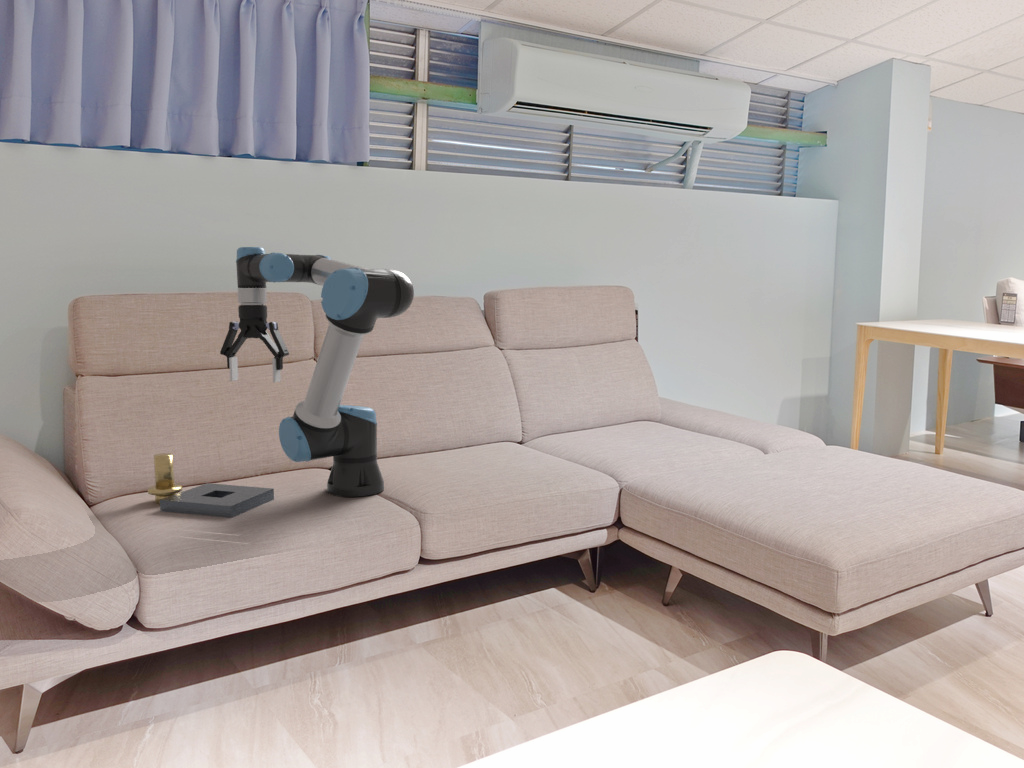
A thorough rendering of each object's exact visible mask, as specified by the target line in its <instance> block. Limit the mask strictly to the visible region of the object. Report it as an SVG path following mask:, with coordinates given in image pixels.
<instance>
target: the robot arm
mask: <svg viewBox="0 0 1024 768" xmlns="http://www.w3.org/2000/svg"><path fill="white" fill-rule="evenodd" d="M235 263H236V279H237V303H238V304H240V305H238V310H237V311H238V319H239V322H238V321H230V322H229V324H228V330H227V331H228V332H227V334H226V336H225V339H224V341H223V343H222V347H221V349H220V351H219V353H220V355H222V356H225V357H226V363H227V364H226V365H227V366H226V367H227V369H228V370H229V381H230V382H234V381H235V382H236V381H239V369H238V368H239V365H238V364H239V363H238V356H236V354H237V353H238V352H239V350H240V348H242V346H243V345H244V343H245V342H246V340H248V339H259V340H261V341H262V343H263V344H264V345H265V346H266V347H267V349H268V350H269V352H271V354H272V355H273V358H272V361H271V362H272V363H271V364H272V365H271V366H272V382H273V383H279V382H281V381H282V377H281V376H282V372H281V371H282V370H283V368H284V365H283V364H284V362H283V361H284V360H283V359H284V357H286V356H289V355H290V351H289V349H288V347H287V345H286V343H285V341H284V339H283V337H282V334H281V332H280V330H279V326H278V322H277V321H269V322H268V320H267V319H268V306H267V305H266V303H267V283H308V284H309V283H310V284H313V285H317V286H322V288H321V293H320V297H321V298H322V300H321V301H320V302H321V308H322V310H323V312H324V313H325V319H326V321H327V322H328V326H327V329H326V333H325V336H324V339H323V341H322V344H321V345H322V346H321V349H320V351H319V355H318V358H317V361H316V364H315V367H314V369H313V373H312V375H311V376H312V377H311V380H310V383H309V385H308V389H307V392H306V395H305V397H304V400H301V401H300V402H298V403H297V404H296V406H295V408H294V412H293V415H292V416H287V417H284V418H282V419H281V421H280V423H279V426H278V438H279V442H280V446H281V448H282V451H283V452H284V454H285V456H286V457H287V458H288V459H289V460H290V461H293V462H295V463H300V462H301V463H302V462H303V463H304V462H311V461H315V460H320V459H326V458H330V457H331V458H333V459H332V462H333V463H332V466H331V470H330V472H329V477H328V479H327V481H326V491H327V493H328V494H329V493H330V494H329V495H331V494H333V495H332V496H335V495H337V497H343V496H344V498H345V497H348V498H349V497H350V498H353V497H354V498H355V497H357V498H358V497H366V496H372V495H375V494H376V495H377V494H379V493H382V492H383V491H384V489H385V485H384V484H385V480H384V477H383V476H382V473H381V470H380V467H379V463H378V455H377V453H378V448H377V446H378V445H377V443H378V442H377V441H378V440H377V430H378V427H377V426H378V423H377V413H376V410H374V409H373V408H372V407H369V406H361V405H349V404H348V405H347V404H341V403H342V401H343V400H342V399H343V398H344V394H345V391H346V388H347V385H348V383H349V379H350V377H351V374H352V371H353V368H354V366H355V362H356V360H357V356H358V353H359V351H360V347H361V345H362V342H363V340H364V336H366V335H368V334H370V333H372V331H373V330H374V328H375V324H376V322H377V319H387V318H395V317H397V316H400V315H402V314H403V313H405V312H406V311H407V310H408V309H409V308H410V307H411V305H412V303H413V301H414V296H415V292H414V291H415V290H414V286H413V282H412V280H410V278H409V277H408V276H407V275H406V274H405V273H403V272H401V271H399V270H396V269H390V268H389V269H387V268H376V269H375V268H365V267H362V266H359V265H354V264H350V263H346V262H342V261H338V260H334V259H332V257H331V256H328V255H323V254H322V255H321V254H316V255H315V254H293V253H291V254H290V253H281V252H270V253H266V251H265V248H263V247H259V246H258V247H257V246H241V247H238V248H237V249H236V260H235ZM239 329H240V332H238V330H239ZM267 330H269V333H270V334H269V333H268V331H267ZM238 333H239V334H238ZM237 334H238V335H237Z"/></svg>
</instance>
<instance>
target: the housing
mask: <svg viewBox="0 0 1024 768" xmlns="http://www.w3.org/2000/svg"><path fill="white" fill-rule="evenodd" d="M274 489H275V488H273V487H272V488H271V487H260V486H259V487H258V486H247V485H246V486H245V485H235V484H222V483H209V482H207V483H204V484H202V485H201V484H200V485H198V486H194V487H192V488H190V489H187V490H182V491H181V492H178V493H176V494H175V495H172V496H169V497H166V498H164V499H161V500H160V504H159V509H160V510H159V511H160V512H162V513H163V512H164V513H165V512H166V513H174V514H185V515H186V514H187V515H197V516H206V517H208V516H209V517H219V518H228V519H232V518H234V517H237V516H239V515H241V514H243V513H246V512H248V511H251V510H253V509H255V508H258V507H259V506H260V507H261V506H262V505H264V504H266V503H269V502H272V501H274V500H275V491H274Z"/></svg>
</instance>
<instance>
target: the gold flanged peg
mask: <svg viewBox="0 0 1024 768" xmlns="http://www.w3.org/2000/svg"><path fill="white" fill-rule="evenodd" d="M153 464H154V481H155V482H154V483H155V485H151V486H150V487H148V488H147V494H148V495H151V496H155V497H154V499H155V503H156V504H159V505H160V500H161V499H164V498H166V497H169V496H172V495H175V494H178V493H181V492H183V485H181V484H180V483H175V474H174V473H175V472H174V471H175V469H174V454H173V453H171V452H165V453H156V454H154V455H153Z"/></svg>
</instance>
